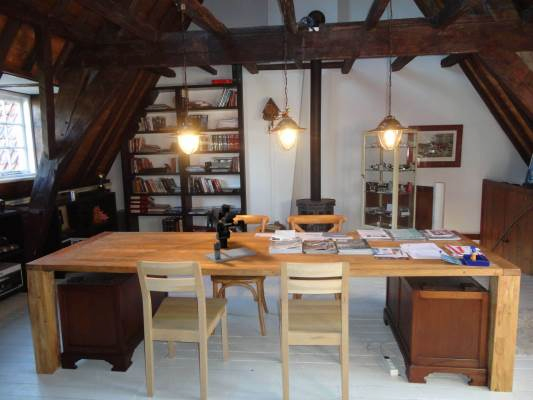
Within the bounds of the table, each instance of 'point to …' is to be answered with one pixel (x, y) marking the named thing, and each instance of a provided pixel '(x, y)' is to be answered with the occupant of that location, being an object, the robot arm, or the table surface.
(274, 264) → the table surface
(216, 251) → the awl peg
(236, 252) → the subfloor panel
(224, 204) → the robot arm
